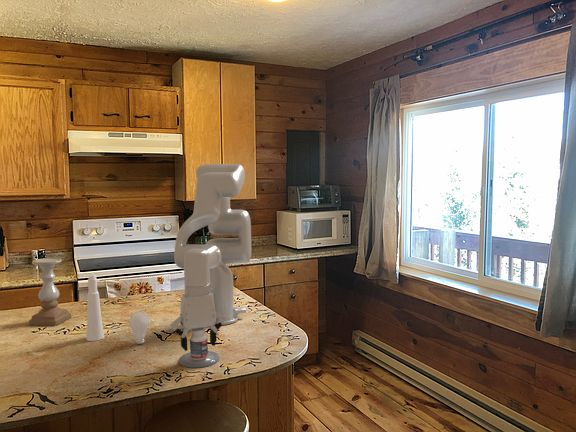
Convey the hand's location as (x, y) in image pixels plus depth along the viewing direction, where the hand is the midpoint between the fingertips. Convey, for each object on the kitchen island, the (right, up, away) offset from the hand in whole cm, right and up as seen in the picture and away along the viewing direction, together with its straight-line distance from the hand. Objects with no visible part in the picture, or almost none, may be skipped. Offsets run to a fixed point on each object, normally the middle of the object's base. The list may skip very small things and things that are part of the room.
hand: (199, 346), depth 146 cm
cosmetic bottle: (-40, -3, +20) cm, 44 cm away
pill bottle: (0, -4, +1) cm, 4 cm away
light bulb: (-22, -3, +14) cm, 26 cm away
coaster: (0, -4, 0) cm, 4 cm away
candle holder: (-64, -1, +39) cm, 75 cm away
